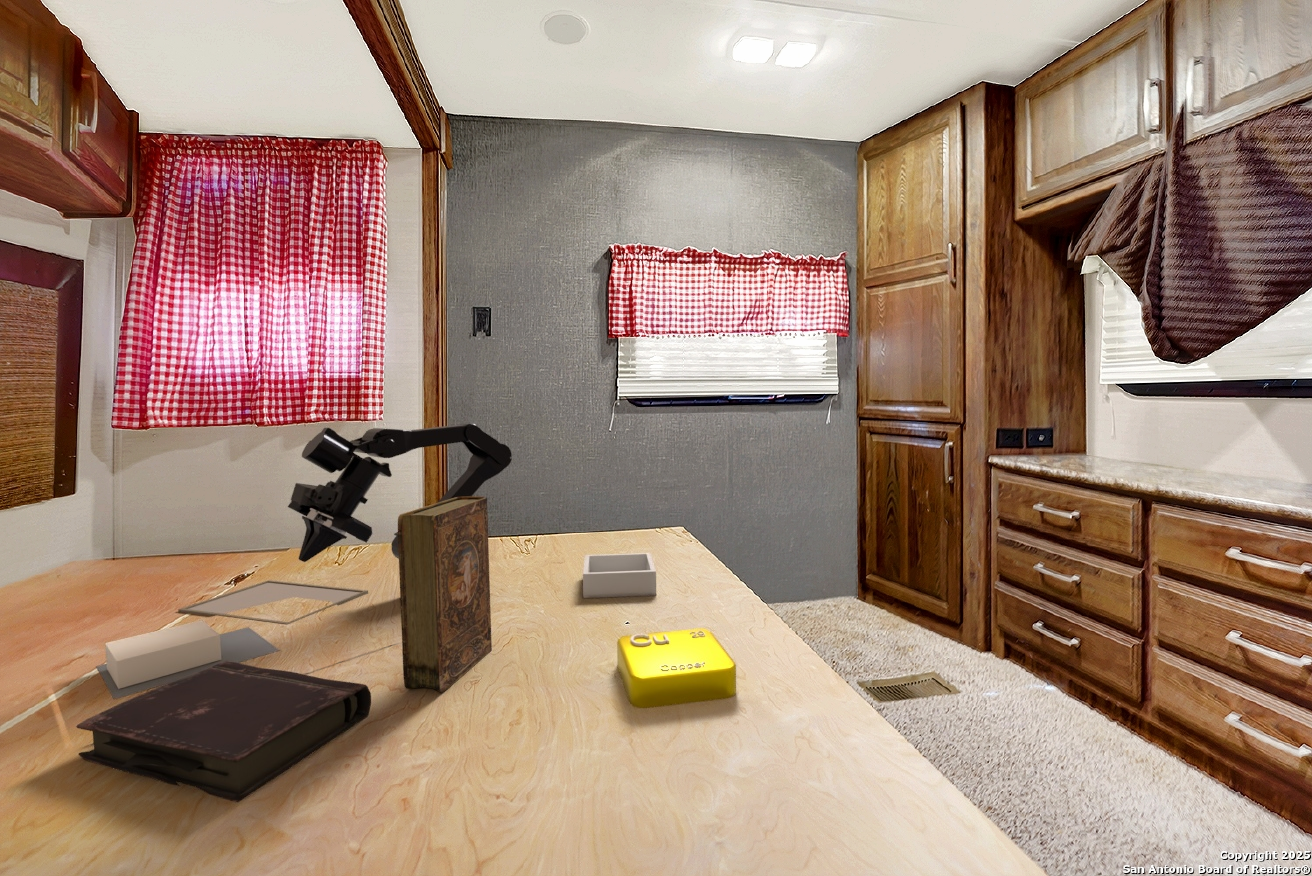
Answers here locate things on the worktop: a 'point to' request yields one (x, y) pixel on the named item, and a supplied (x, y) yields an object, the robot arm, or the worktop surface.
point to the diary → (225, 727)
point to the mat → (233, 649)
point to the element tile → (675, 668)
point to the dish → (619, 575)
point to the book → (444, 591)
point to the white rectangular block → (161, 653)
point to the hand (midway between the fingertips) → (301, 560)
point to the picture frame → (271, 598)
